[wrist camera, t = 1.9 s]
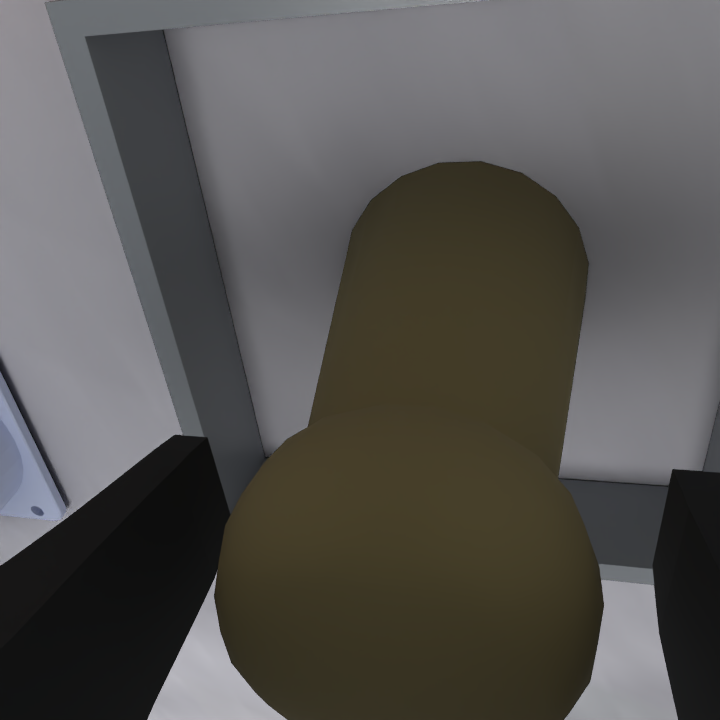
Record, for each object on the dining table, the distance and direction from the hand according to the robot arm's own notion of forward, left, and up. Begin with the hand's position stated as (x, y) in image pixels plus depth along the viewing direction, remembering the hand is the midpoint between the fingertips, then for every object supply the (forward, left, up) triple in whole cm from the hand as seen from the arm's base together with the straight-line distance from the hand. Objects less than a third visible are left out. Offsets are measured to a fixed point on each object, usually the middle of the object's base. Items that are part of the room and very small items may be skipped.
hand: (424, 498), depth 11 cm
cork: (0, 0, -8) cm, 8 cm away
